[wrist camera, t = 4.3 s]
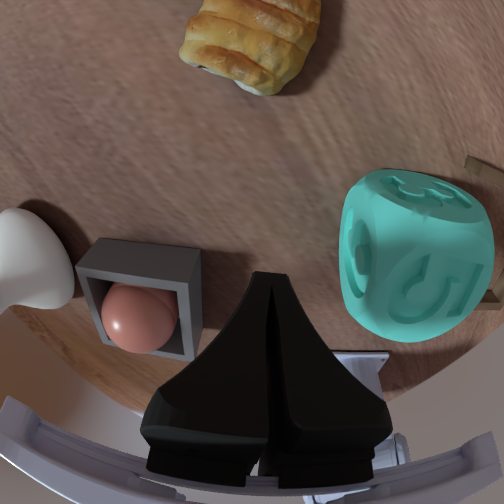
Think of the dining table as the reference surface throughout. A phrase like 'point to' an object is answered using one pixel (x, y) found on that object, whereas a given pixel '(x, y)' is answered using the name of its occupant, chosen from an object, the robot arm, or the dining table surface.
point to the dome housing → (147, 285)
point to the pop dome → (139, 316)
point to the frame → (500, 293)
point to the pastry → (252, 40)
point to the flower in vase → (32, 263)
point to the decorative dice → (413, 254)
